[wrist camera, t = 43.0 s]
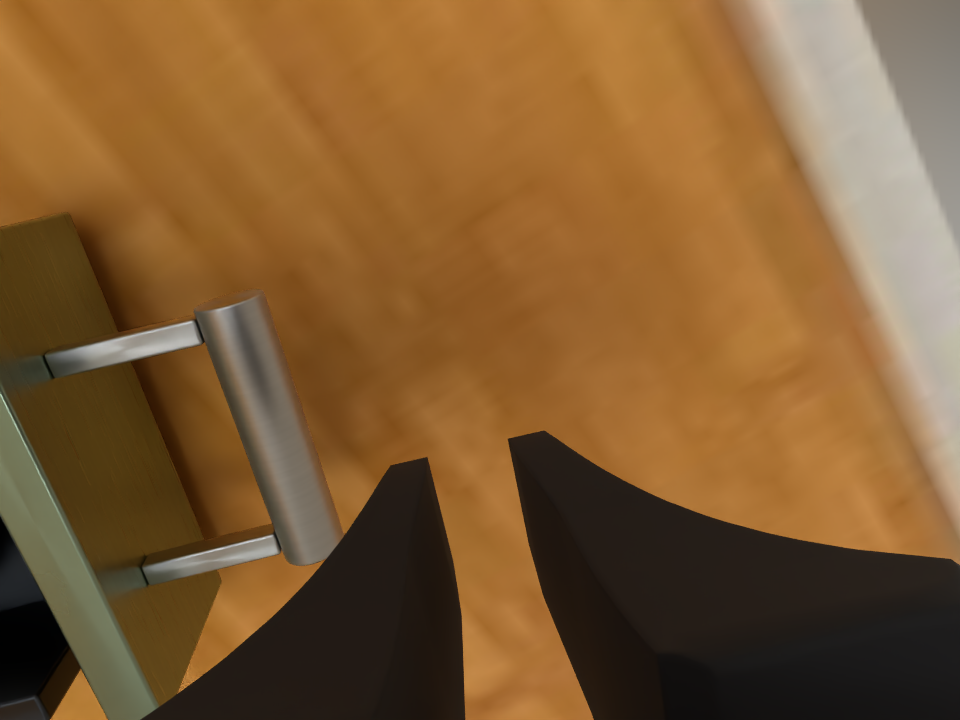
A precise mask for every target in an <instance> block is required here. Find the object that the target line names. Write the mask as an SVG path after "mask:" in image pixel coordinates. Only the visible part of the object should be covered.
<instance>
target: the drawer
mask: <svg viewBox="0 0 960 720" xmlns="http://www.w3.org/2000/svg"><path fill="white" fill-rule="evenodd" d="M204 342H205V343H206V346H207V349H208V351H209V354H210V357H211V359H212V362H213V365H214V368H215V370H216V373H217V376H218V378H219V381H220V384H221V386H222V389H223V392H224V395H225V397H226V400H227V403H228V405H229V408H230V411H231V413H232V416H233V419H234V422H235V424H236V427H237V430H238V432H239V435H240V438H241V440H242V443H243V446H244V449H245V451H246V454H247V457H248V459H249V462H250V465H251V467H252V470H253V473H254V476H255V478H256V481H257V484H258V486H259V489H260V492H261V494H262V497H263V500H264V503H265V505H266V508H267V511H268V513H269V516H270V519H271V521H272V524H268V525H264V526H259V527H255V528H251V529H247V530H243V531H239V532H235V533H231V534H227V535H223V536H219V537H214V538H210V539H206V540H205V539H204V537H203V535H202V532H201V530H200V527H199V525H198V523H197V520H196V518H195V515H194V513H193V510H192V508H191V506H190V503H189V501H188V498H187V496H186V494H185V491H184V489H183V486H182V484H181V482H180V479H179V477H178V474H177V472H176V469H175V467H174V465H173V462H172V460H171V457H170V455H169V453H168V450H167V448H166V445H165V443H164V441H163V438H162V436H161V433H160V431H159V428H158V426H157V424H156V421H155V419H154V416H153V414H152V412H151V409H150V407H149V404H148V402H147V400H146V397H145V395H144V392H143V390H142V387H141V385H140V383H139V380H138V378H137V375H136V373H135V371H134V368H133V366H132V363H131V361H136V360H140V359H144V358H148V357H153V356H157V355H161V354H165V353H170V352H174V351H178V350H182V349H187V348H191V347H195V346H200V345H202V344H203V343H204ZM343 537H344V533H343V530H342V527H341V524H340V521H339V518H338V515H337V512H336V509H335V506H334V503H333V500H332V496H331V493H330V490H329V487H328V484H327V481H326V478H325V475H324V472H323V469H322V466H321V463H320V460H319V457H318V454H317V451H316V448H315V445H314V442H313V439H312V436H311V433H310V430H309V427H308V424H307V421H306V418H305V415H304V412H303V409H302V406H301V403H300V400H299V397H298V393H297V390H296V387H295V384H294V381H293V378H292V375H291V372H290V369H289V366H288V363H287V360H286V357H285V354H284V351H283V348H282V345H281V342H280V339H279V336H278V333H277V330H276V327H275V324H274V321H273V318H272V315H271V312H270V309H269V306H268V303H267V300H266V297H265V294H264V291H263V290H261V289H249V290H243V291H238V292H233V293H229V294H226V295H222V296H219V297H216V298H213V299H211V300H208V301H206V302H204V303H202V304H200V305H198V306H197V307H196V308H195V309H194V315H190V316H186V317H181V318H177V319H173V320H169V321H164V322H160V323H156V324H151V325H147V326H143V327H138V328H134V329H130V330H126V331H121V332H118V330H117V327H116V325H115V322H114V320H113V317H112V315H111V313H110V310H109V308H108V305H107V303H106V301H105V298H104V296H103V293H102V291H101V289H100V286H99V284H98V281H97V279H96V276H95V274H94V272H93V269H92V267H91V264H90V262H89V260H88V257H87V255H86V252H85V250H84V248H83V245H82V243H81V240H80V238H79V235H78V233H77V231H76V228H75V226H74V223H73V221H72V219H71V216H70V214H69V213H67V212H63V213H58V214H54V215H49V216H45V217H41V218H36V219H32V220H27V221H23V222H19V223H15V224H10V225H6V226H2V227H0V720H50V719H51V718H52V716H53V714H54V713H55V711H56V709H57V708H58V706H59V704H60V703H61V701H62V699H63V698H64V696H65V694H66V693H67V691H68V689H69V688H70V686H71V684H72V683H73V681H74V679H75V678H76V676H77V674H78V672H79V671H80V669H82V671H83V673H84V675H85V677H86V679H87V681H88V683H89V685H90V686H91V688H92V690H93V692H94V694H95V696H96V698H97V700H98V702H99V703H100V705H101V707H102V709H103V711H104V713H105V715H106V717H107V719H108V720H140V719H142V718H143V717H145V716H146V715H148V714H149V713H151V712H152V711H154V710H155V709H157V708H158V707H160V706H161V705H162V704H164V703H165V702H167V701H168V700H170V699H171V698H172V697H174V696H175V695H177V693H178V690H179V688H180V685H181V683H182V680H183V678H184V675H185V673H186V670H187V668H188V665H189V663H190V660H191V658H192V655H193V653H194V650H195V648H196V645H197V643H198V640H199V638H200V635H201V633H202V630H203V628H204V625H205V622H206V620H207V617H208V615H209V612H210V610H211V607H212V605H213V602H214V600H215V597H216V595H217V592H218V590H219V587H220V585H221V578H220V576H219V573H218V571H217V569H222V568H226V567H230V566H234V565H238V564H242V563H246V562H250V561H254V560H258V559H262V558H266V557H270V556H274V555H278V554H280V553H281V550H282V551H283V554H284V556H285V559H286V560H287V561H288V562H289V563H290V564H292V565H296V566H305V565H311V564H314V563H317V562H320V561H322V560H324V559H326V558H327V557H328V556H329V555H330V554H331V552H332V551H333V550H334V548H335V547H336V546H337V545H338V543H339V542H340V541H341V539H342V538H343Z"/></svg>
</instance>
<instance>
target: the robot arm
mask: <svg viewBox="0 0 960 720" xmlns="http://www.w3.org/2000/svg"><path fill="white" fill-rule="evenodd" d="M508 442H509V447H510V452H511V457H512V462H513V467H514V472H515V477H516V482H517V487H518V492H519V497H520V502H521V507H522V512H523V517H524V522H525V527H526V532H527V537H528V542H529V546H530V550H531V553H532V557H533V561H534V564H535V568H536V571H537V575H538V579H539V582H540V586H541V589H542V593H543V596H544V599H545V601H546V603H547V606H548V608H549V611H550V613H551V616H552V618H553V621H554V623H555V626H556V628H557V630H558V633H559V635H560V638H561V640H562V643H563V645H564V647H565V650H566V652H567V655H568V657H569V659H570V662H571V664H572V667H573V669H574V672H575V674H576V676H577V679H578V681H579V684H580V686H581V688H582V691H583V693H584V696H585V698H586V701H587V703H588V705H589V708H590V710H591V713H592V715H593V718H594V720H960V565H958V564H957V563H956V562H954V561H953V560H952V559H945V558H935V557H925V556H915V555H905V554H895V553H885V552H875V551H865V550H856V549H849V548H843V547H837V546H831V545H825V544H819V543H814V542H808V541H802V540H797V539H792V538H787V537H783V536H778V535H774V534H769V533H765V532H761V531H757V530H754V529H750V528H746V527H743V526H739V525H735V524H731V523H728V522H724V521H721V520H718V519H715V518H712V517H708V516H705V515H702V514H700V513H697V512H694V511H692V510H689V509H686V508H684V507H681V506H678V505H676V504H673V503H670V502H668V501H666V500H663V499H661V498H659V497H656V496H654V495H652V494H650V493H648V492H646V491H644V490H642V489H639V488H637V487H635V486H633V485H631V484H629V483H627V482H625V481H623V480H622V479H620V478H618V477H616V476H614V475H612V474H611V473H609V472H607V471H605V470H604V469H602V468H600V467H599V466H597V465H595V464H594V463H592V462H590V461H589V460H587V459H586V458H584V457H583V456H581V455H580V454H578V453H577V452H575V451H574V450H572V449H571V448H569V447H568V446H566V445H565V444H564V443H562V442H561V441H559V440H558V439H556V438H555V437H553V436H552V435H550V434H549V433H547V432H546V431H540V432H536V433H531V434H527V435H522V436H518V437H514V438H509V439H508ZM140 720H465V701H464V669H463V640H462V615H461V608H460V602H459V595H458V588H457V582H456V576H455V570H454V563H453V559H452V555H451V551H450V546H449V542H448V538H447V534H446V530H445V526H444V522H443V518H442V514H441V510H440V506H439V502H438V498H437V494H436V490H435V486H434V482H433V478H432V474H431V470H430V466H429V462H428V458H427V457H426V458H421V459H417V460H412V461H408V462H403V463H399V464H395V465H391V466H390V467H389V469H388V470H387V472H386V473H385V475H384V476H383V478H382V479H381V481H380V482H379V484H378V485H377V487H376V489H375V490H374V492H373V494H372V495H371V497H370V498H369V500H368V501H367V503H366V505H365V506H364V508H363V509H362V511H361V512H360V514H359V515H358V517H357V518H356V520H355V521H354V523H353V524H352V526H351V527H350V528H349V530H348V531H347V533H346V534H345V536H344V537H343V538H342V539H341V541H340V542H339V543H338V545H337V546H336V547H335V548H334V550H333V551H332V552H331V554H330V555H329V556H328V557H327V559H326V560H325V561H324V563H323V564H322V565H321V566H320V568H319V569H318V570H317V571H316V572H315V573H314V574H313V576H312V577H311V578H310V579H309V580H308V581H307V582H306V583H305V584H304V586H303V587H302V588H301V589H300V590H299V591H298V592H297V593H296V594H295V595H294V596H293V597H292V598H291V599H290V600H289V601H288V602H287V603H286V604H285V605H284V606H283V607H282V608H281V609H280V610H279V611H278V612H277V613H276V614H275V615H274V616H273V617H272V618H271V619H270V620H268V621H267V622H266V623H265V624H264V625H263V626H261V627H260V628H259V629H258V630H257V631H256V632H255V633H253V634H252V635H251V636H250V637H249V638H248V639H246V640H245V641H244V642H243V643H242V644H241V645H240V646H238V647H237V648H236V649H235V650H234V651H233V652H231V653H230V654H229V655H228V656H227V657H226V658H224V659H223V660H222V661H221V662H219V663H218V664H217V665H216V666H214V667H213V668H212V669H210V670H209V671H208V672H206V673H205V674H204V675H202V676H201V677H200V678H199V679H197V680H196V681H195V682H193V683H192V684H191V685H189V686H188V687H186V688H185V689H184V690H182V691H181V692H179V693H178V694H177V695H175V696H174V697H172V698H171V699H170V700H168V701H167V702H165V703H164V704H162V705H161V706H160V707H158V708H157V709H155V710H154V711H152V712H151V713H149V714H148V715H146V716H145V717H143V718H142V719H140Z"/></svg>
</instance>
